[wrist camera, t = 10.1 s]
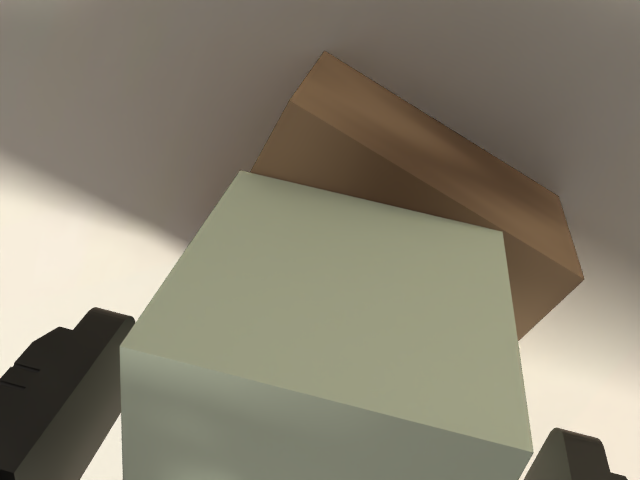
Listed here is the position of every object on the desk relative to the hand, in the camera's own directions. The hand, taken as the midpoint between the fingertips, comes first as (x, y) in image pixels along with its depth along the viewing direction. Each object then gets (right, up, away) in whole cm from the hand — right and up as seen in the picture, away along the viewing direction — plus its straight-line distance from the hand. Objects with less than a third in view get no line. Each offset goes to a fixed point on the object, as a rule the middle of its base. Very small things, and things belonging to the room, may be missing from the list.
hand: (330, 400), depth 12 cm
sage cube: (0, +2, +2) cm, 3 cm away
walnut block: (+1, +4, +6) cm, 7 cm away
